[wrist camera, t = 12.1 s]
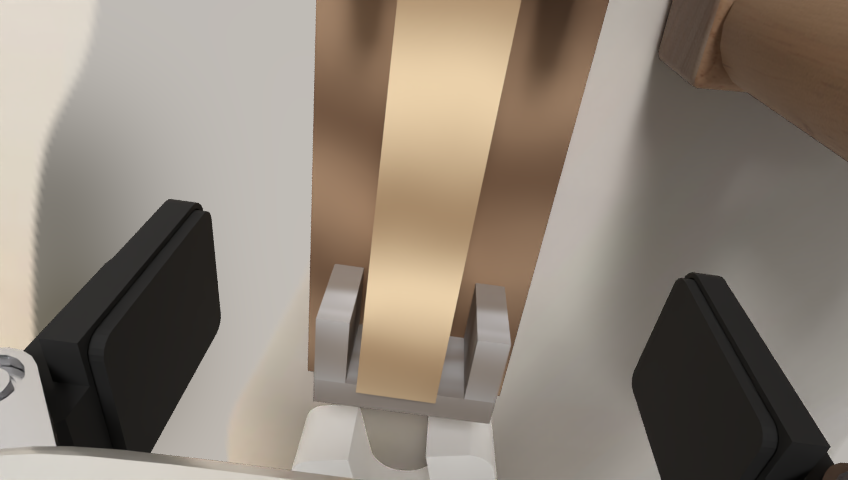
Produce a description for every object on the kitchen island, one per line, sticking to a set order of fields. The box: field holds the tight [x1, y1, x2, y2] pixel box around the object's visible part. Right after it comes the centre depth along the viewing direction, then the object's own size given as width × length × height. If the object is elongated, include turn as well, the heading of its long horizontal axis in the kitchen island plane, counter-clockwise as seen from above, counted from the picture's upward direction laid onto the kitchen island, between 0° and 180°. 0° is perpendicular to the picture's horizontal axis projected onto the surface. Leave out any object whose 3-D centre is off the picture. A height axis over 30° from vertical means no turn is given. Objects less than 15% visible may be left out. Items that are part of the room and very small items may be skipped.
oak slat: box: [356, 0, 521, 403], centre depth 19 cm, size 16×3×4 cm, turn 172°
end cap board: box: [308, 0, 609, 424], centre depth 19 cm, size 24×9×4 cm, turn 173°
